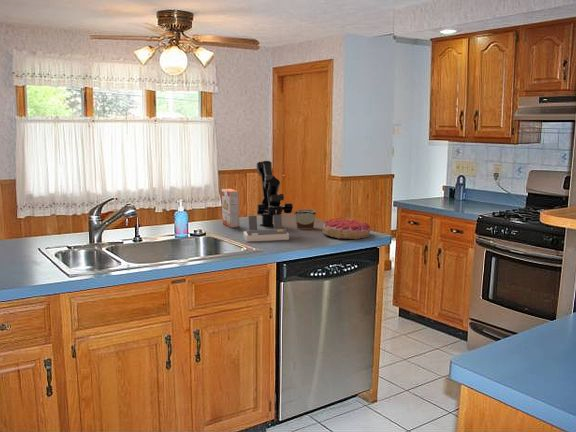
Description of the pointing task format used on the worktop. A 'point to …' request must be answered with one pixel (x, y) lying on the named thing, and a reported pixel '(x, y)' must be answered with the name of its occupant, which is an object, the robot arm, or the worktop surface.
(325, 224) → the cake
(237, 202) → the cracker box
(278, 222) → the grey rectangular carton
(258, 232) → the switch panel
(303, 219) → the food container
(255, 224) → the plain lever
